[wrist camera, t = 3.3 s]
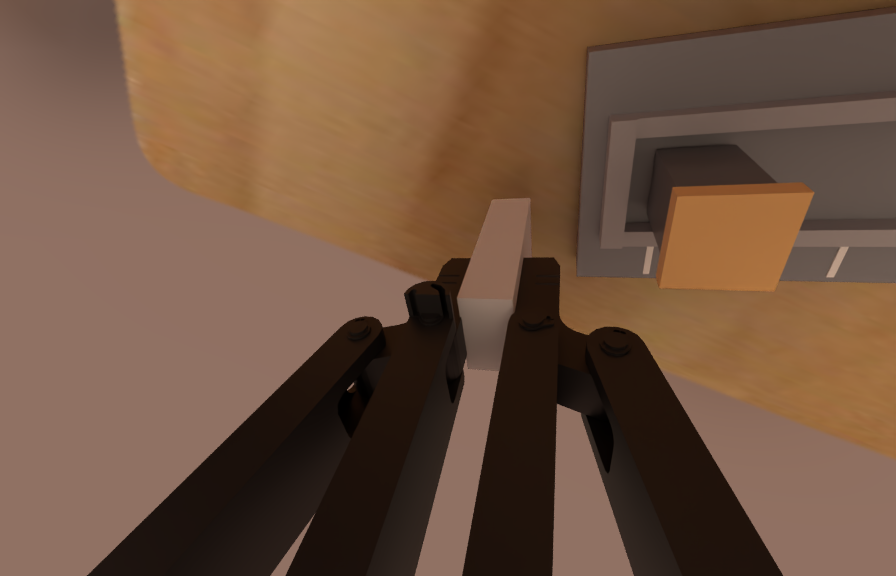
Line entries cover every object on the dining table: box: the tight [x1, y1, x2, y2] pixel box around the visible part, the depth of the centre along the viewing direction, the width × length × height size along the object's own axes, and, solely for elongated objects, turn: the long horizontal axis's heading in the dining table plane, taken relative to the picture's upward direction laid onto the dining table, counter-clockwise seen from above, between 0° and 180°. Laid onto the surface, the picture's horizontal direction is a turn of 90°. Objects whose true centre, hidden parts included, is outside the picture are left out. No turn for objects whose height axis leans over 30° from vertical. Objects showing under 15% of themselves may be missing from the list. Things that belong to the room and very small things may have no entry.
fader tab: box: [647, 145, 815, 291], centre depth 15 cm, size 4×4×6 cm
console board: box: [576, 7, 896, 283], centre depth 16 cm, size 23×11×3 cm, turn 98°
